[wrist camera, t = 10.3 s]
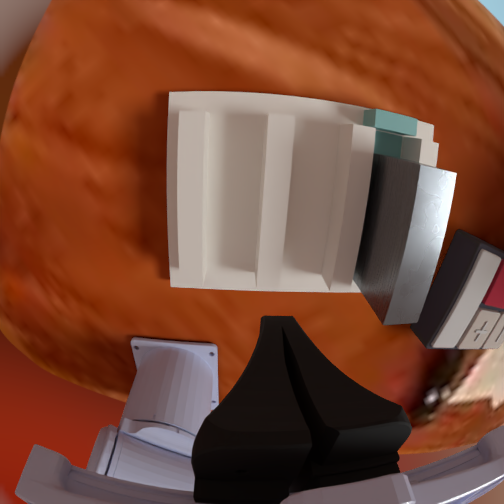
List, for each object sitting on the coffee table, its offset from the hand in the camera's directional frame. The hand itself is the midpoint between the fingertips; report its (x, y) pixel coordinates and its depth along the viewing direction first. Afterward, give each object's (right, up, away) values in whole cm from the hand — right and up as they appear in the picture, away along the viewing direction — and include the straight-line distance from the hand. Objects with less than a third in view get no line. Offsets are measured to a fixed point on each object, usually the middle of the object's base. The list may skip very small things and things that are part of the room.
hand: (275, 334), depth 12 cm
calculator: (+23, -1, +13) cm, 27 cm away
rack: (+3, +7, +8) cm, 11 cm away
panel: (+8, +6, +8) cm, 13 cm away
